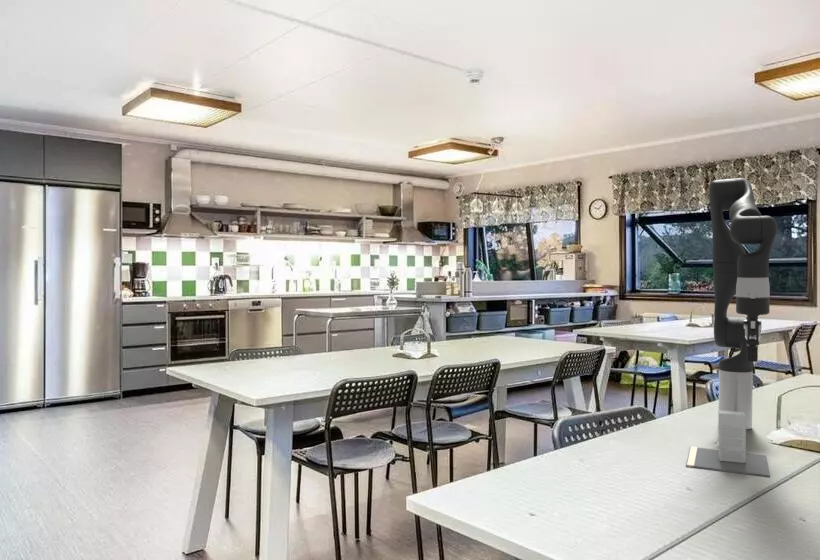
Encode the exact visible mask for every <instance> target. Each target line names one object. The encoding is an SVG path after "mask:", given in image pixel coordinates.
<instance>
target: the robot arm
mask: <svg viewBox="0 0 820 560" xmlns="http://www.w3.org/2000/svg"><path fill="white" fill-rule="evenodd" d="M708 194H709V195H708V198H709V208H710V209H709V210H710V211H709V212H710V218H711V230H712V233H711V234H712V274H713V288H714V290H713V292H714V309H713V311H714V313H713V315H714V316H713V339H714V342H715V345H716V346H717V347H720V348H731V349H732V348H733V349H740V350H739V352H738V353H737V354H735V355H733V356H730V357H726V358H721V359H720V360H719V363H718V411H719V410H721V411H735V412H744V413H745V415H746V430H751V429H753V390H754V389H753V385H754V384H753V379H754V378H753V371H754V370H753V369H754V368H753V367H754V366H753V365H754V364H753V363H756V362H758V359H759V358H758V357H759V356H758V353H759V351H758V350H759V346H760V342H759V340H761V330H762V320H759V316H766V315H768V314H769V315H770V306H771V305H770V304H771V303H770V302H771V301H770V300H771V298H770V297H771V296H770V293H771V291H770V290H771V289H770V279H769V276H770V275H769V273H770V272H769V269H770V267H769V266H770V265H769V264H770V263H769V262H770V256H771V251H772V248H773V245H774V242H775V239H776V236H777V234H778V233H777V232H778V224H777V223H778V222H777V221H776V219H775V218H774V217H772V216H770V215H762V213H761V212H760V211H759V209H758V207H757V206H756V200H755V196H754V192H753V187H752V185H751V183H750V181H749V180H748V178H747V179H746V178H743V177H736V178H735V177H734V178H726V179H715V180H712V181H711V182H710V184H709V188H708ZM726 211H727V212H728V211H729V212H728V215H729V216H728V217H729V220H730V222H731V223H730V226H729V227H728V224H727V223H726V221H725V218H724V217H725V216H724V213H723V212H726ZM743 245H759V246H758V248H757V249H756V250H755V251H753V252H748V253H747V252H746V250H745V248H744V247H743ZM734 297H735V311H736V314H738V315H746V317H728V316H727V313H728V308H729V307H730V304H731V302H732V300H733V298H734Z"/></svg>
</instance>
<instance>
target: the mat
mask: <svg viewBox="0 0 820 560" xmlns="http://www.w3.org/2000/svg"><path fill="white" fill-rule="evenodd" d="M685 467H687V468H694V469H701V468H702V469H701V470H710V471H718V472H726V473H735V474H742V475H750V476H757V477H758V476H760V477H767V478H771V471H770V468H769V463H768V457H767V455H766V454H758V453H748V452H746V463H737V462H726V461H719V449H713V448H704V447H698V446H689V451H688V455H687V458H686V463H685Z"/></svg>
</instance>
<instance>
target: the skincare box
mask: <svg viewBox="0 0 820 560" xmlns="http://www.w3.org/2000/svg"><path fill="white" fill-rule="evenodd" d="M717 418H718V422H717V423H718V424H717V425H718V450H719V461H726V462H737V463H746V453H747V452H746V451H747V447H746V446H747V438H746V437H747V429H746V415H745V413H744V412H735V411H721V410H719V409H718V415H717Z"/></svg>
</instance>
